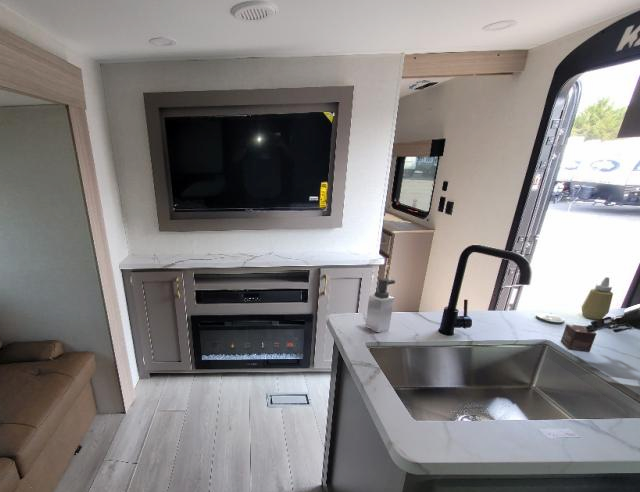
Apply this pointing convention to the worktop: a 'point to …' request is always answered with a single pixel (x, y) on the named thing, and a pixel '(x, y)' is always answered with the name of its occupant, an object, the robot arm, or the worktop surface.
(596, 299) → the squeeze bottle
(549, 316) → the white flat disc
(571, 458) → the worktop surface
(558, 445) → the worktop surface
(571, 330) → the box
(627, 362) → the worktop surface
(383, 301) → the soap dispenser
